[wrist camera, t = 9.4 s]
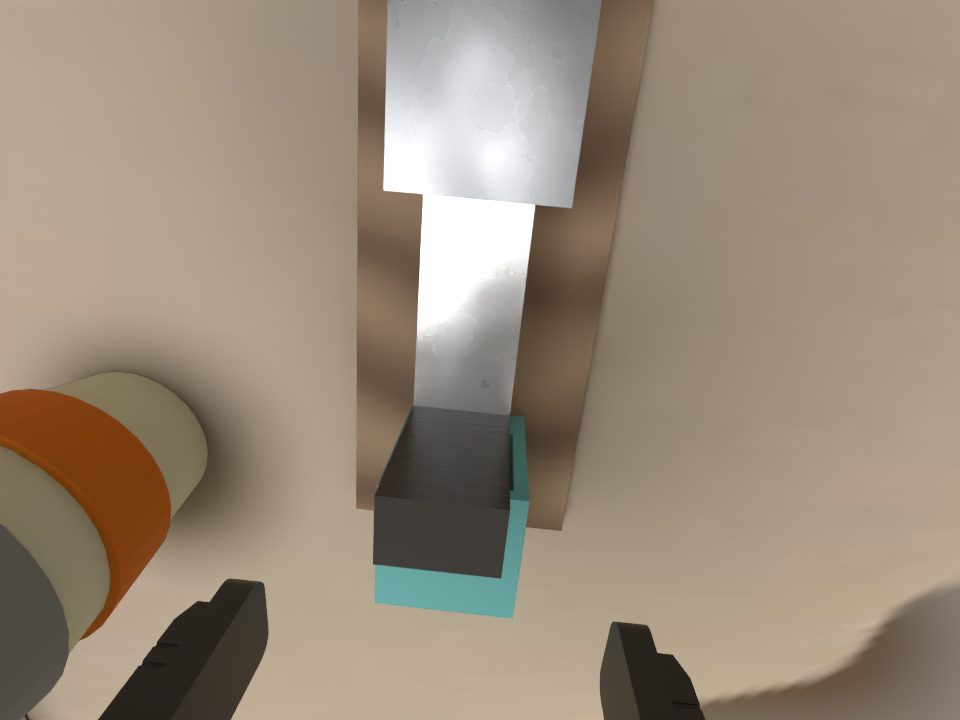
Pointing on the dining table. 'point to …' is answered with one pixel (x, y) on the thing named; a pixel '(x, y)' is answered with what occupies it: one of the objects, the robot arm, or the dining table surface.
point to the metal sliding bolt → (459, 393)
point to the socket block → (468, 589)
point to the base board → (550, 275)
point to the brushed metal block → (488, 97)
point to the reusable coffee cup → (82, 513)
